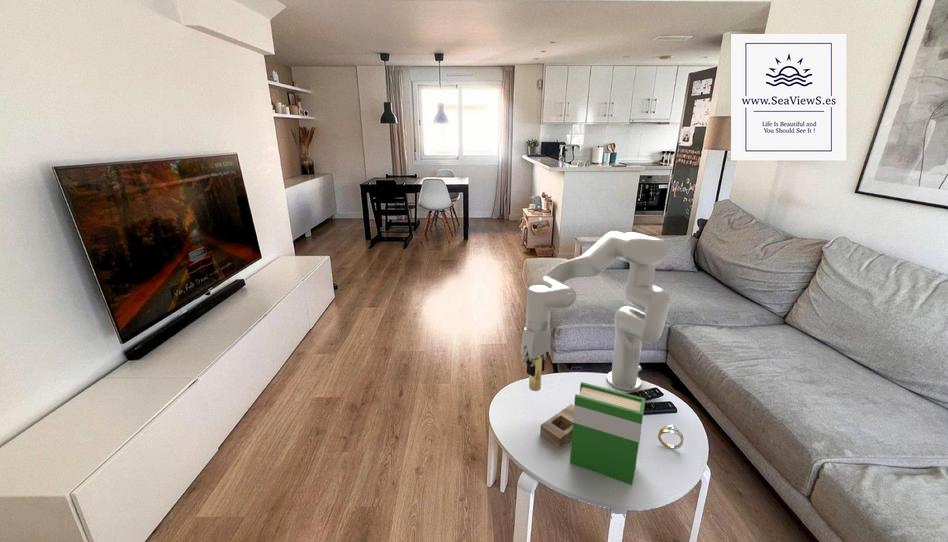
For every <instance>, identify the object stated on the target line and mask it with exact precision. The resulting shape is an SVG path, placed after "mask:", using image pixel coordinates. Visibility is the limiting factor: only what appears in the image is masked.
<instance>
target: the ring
mask: <svg viewBox="0 0 948 542" xmlns="http://www.w3.org/2000/svg"><path fill="white" fill-rule="evenodd" d="M667 433H672V434H675V435H678V436H679V438H680V442H679V443H678V444H676V445H671V444H670V443H666V442H665V441H664V440H663V439H662V437H661V436H662V435H664V434H667ZM657 434H658V435H657V439H658V441H659V442H660V443H661V445H663V446H664V447H666V448H667V449H668V450H670V449H671V450H677V449H680V448H681V447H682V446H683V445H684V440H685V439H684V438H685V437H684V436H683V433H682V432H681V431H680V429H678V427H676V426H675V425H673V424H671V425H665V426H663V427H661V428H660V429H659V432H658V433H657Z"/></svg>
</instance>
